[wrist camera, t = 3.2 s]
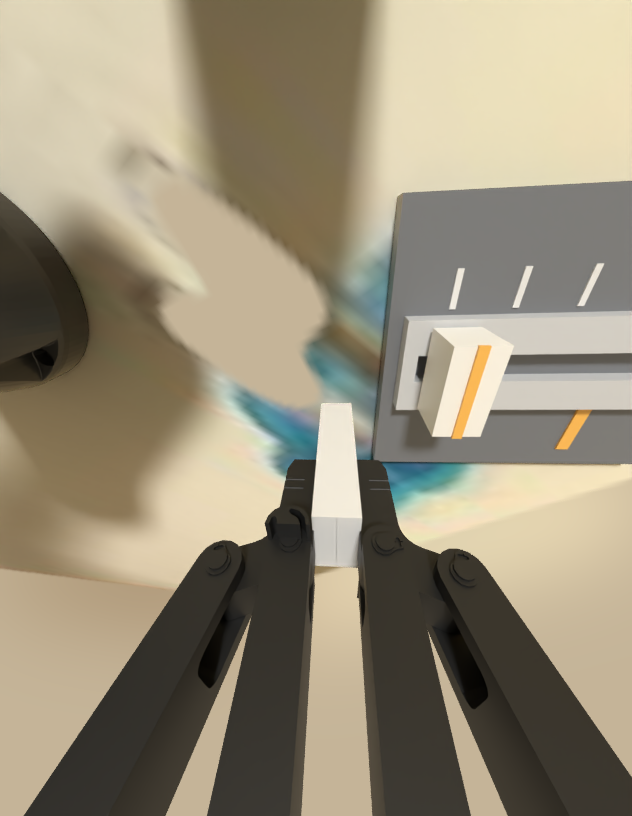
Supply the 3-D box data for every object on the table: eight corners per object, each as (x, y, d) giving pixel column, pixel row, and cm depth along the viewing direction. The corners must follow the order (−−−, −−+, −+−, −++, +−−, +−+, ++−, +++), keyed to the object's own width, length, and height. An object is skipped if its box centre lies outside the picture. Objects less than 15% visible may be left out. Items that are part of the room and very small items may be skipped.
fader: (412, 399, 21) (432, 438, 17) (427, 321, 18) (455, 346, 14) (451, 399, 21) (481, 439, 17) (473, 320, 18) (516, 345, 14)
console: (371, 450, 27) (375, 470, 24) (397, 196, 16) (408, 189, 14) (629, 452, 25) (659, 474, 23) (850, 172, 14) (948, 160, 12)
